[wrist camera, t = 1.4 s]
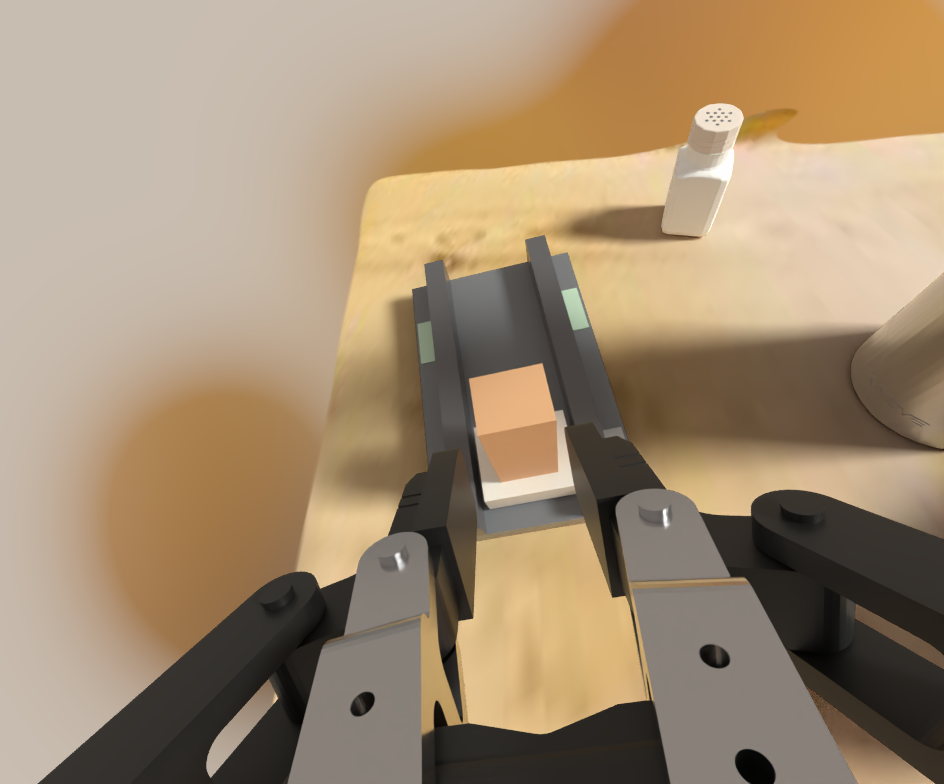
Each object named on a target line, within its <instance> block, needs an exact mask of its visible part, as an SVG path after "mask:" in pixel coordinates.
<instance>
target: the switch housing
mask: <svg viewBox="0 0 944 784" xmlns="http://www.w3.org/2000/svg"><path fill="white" fill-rule="evenodd" d="M525 242H526V252H527V262H525V263H521V264H517V265H512V266H508V267H504V268H500V269H496V270H491V271H487V272H483V273H479V274H475V275H470V276H466V277H462V278H458V279H454V280H450V279H449V276H448V273H447V270H446V268H445V265H444V262H443V260H440V261H436V262H432V263H427V264H424V265H425V274H426V283H427V286H424V287H420V288H416V289H412V293H413V304H414V314H415V325H416V336H417V347H418V358H419V369H420V380H421V391H422V402H423V413H424V424H425V435H426V446H427V457H428V468H429V464H430V461H431V457H432V454H433V453H434V452H439V451H444V450H449V449H454V448H460V449H461V451H462V454H463V457H464V461H465V465H466V469H467V473H468V477H469V480H470V484H471V488H472V492H473V496H474V500H475V505H476V511H477V540H476V541H482V540H487V539H493V538H499V537H505V536H511V535H516V534H522V533H528V532H534V531H540V530H546V529H551V528H557V527H563V526H569V525H575V524H580V523H586V522H585V520H584V517H583V514H582V511H581V508H580V506H579V503H578V499H577V496H576V494H573V495H567V496H561V497H556V498H550V499H545V500H539V501H534V502H528V503H522V504H517V505H511V506H506V507H500V508H494V509H490V508H489V507H488V506H487V504H486V503H485V501H484V495H483V488H482V481H481V474H480V468H479V461H478V454H477V447H476V441H475V434H474V428H475V427H476V422H475V415H474V409H473V402H472V395H471V389H470V382H469V379H470V378H475V377H480V376H485V375H489V374H494V373H499V372H503V371H508V370H513V369H517V368H522V367H527V366H532V365H536V364H541V363H542V364H543V368H544V372H545V376H546V380H547V384H548V388H549V392H550V396H551V400H552V404H553V408H554V412H555V411H560V410H563V413H564V417H565V421H566V424H567V427H568V426H573V425H578V424H583V423H588V422H593V424H594V425H595V427H596V429H597V430H598V432H599V434H600V435H601V437H602V438H607V437H613V436H619V437H621V438H623V439H625V440H627V441H628V438H627V435H626V432H625V429H624V425H623V422H622V419H621V416H620V413H619V410H618V407H617V404H616V401H615V398H614V395H613V391H612V388H611V385H610V382H609V379H608V376H607V373H606V370H605V367H604V364H603V361H602V358H601V354H600V351H599V348H598V345H597V342H596V339H595V336H594V333H593V330H592V327H591V324H590V320H589V317H588V314H587V311H586V308H585V305H584V302H583V299H582V296H581V293H580V290H579V287H578V283H577V280H576V277H575V274H574V271H573V268H572V265H571V262H570V259H569V256H568V253H563V254H559V255H555V256H551V255H550V252H549V248H548V245H547V242H546V238H545V235H543V236H539V237H534V238H530V239H526V240H525Z"/></svg>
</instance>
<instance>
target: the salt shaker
mask: <svg viewBox="0 0 944 784" xmlns="http://www.w3.org/2000/svg"><path fill="white" fill-rule="evenodd" d="M743 119H744V118H743V115H742V112H741V110H739V109H738V108H736V107H734V106H733V105H728V104H722V103H719V104H712V105H708V106H706V107H704V108H702V109H700V110H698V112H697V113H696V115H695V117H694V119H693V123H692V126H691V130H690V134H689V137H688V145H686V146H683V147H681V148H680V149H679V151H678V155H677V159H676V163H675V167H674V171H673V175H672V179H671V183H670V187H669V191H668V195H667V199H666V203H665V208H664V213H663V218H662V224H661V228H662V231H663V233H666V234H674V235H686V236H698V237H702V236H706V235H707V233H708V232H709V231H710V229H711V227H712V224H713V222H714V219H715V216H716V214H717V211H718V209H719V206H720V204H721V201H722V198H723V196H724V193H725V191H726V188H727V186H728V183H729V180H730V178H731V174H732V168H733V160H734V150H733V149H731V148H732V147H733V146H734V143H735V140H736V138H737V134H738V132H739V129H740V127H741V124H742V121H743Z"/></svg>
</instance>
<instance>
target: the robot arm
mask: <svg viewBox="0 0 944 784" xmlns="http://www.w3.org/2000/svg"><path fill="white" fill-rule="evenodd" d="M851 379H852V383H853V386H854V390H855V391H856V393H857V395H858V397H859V399H860V401H861V402H862V403H863V405H864V406H865V407H866V408H867V409H868V411H869V412H870V413H871V414H872V415H873V416H874V417H876V418H877V419H878V420H879V421H880V422H881V423H883V424H884V425H885V426H887V427H888V428H890V429H892V430H893V431H895V432H896V433H898V434H900V435H902V436H904V437H906V438H909V439H911V440H913V441H915V442H918V443H921V444H925V445H928V446H932V447H935V448H941V449H944V273H943V274H942V275H940V276H939V277H938V278H937V279H936V280H935V281H934V282H932V283H931V284H930V285H929V286H928V287H927V288H926V289H924V290H923V291H922V292H921V293H920V294H919V295H918V296H916V297H915V298H914V299H913V300H912V301H911V302H910V303H908V304H907V305H906V306H905V307H904V308H902V309H901V310H900V311H899V312H898V313H897V314H896V315H895V316H893V317H892V318H891V319H890V320H889V321H888V322H887V323H885V324H884V325H883V326H882V327H881V328H880V329H879V330H877V331H876V332H875V333H874V334H873V335H872V336H871V337H870V338H868V339H867V340H866V341H865V342H864V343H863V344H862V345H861V346H860V347H859V349H858V350H857V351H856V353H855V354H854V357H853V360H852V363H851ZM564 432H565V439H566V444H567V450H568V455H569V461H570V466H571V472H572V478H573V483H574V487H575V492H576V496H577V499H578V503H579V506H580V508H581V511H582V514H583V517H584V520H585V522H586V525H587V528H588V531H589V534H590V536H591V539H592V542H593V545H594V548H595V550H596V553H597V556H598V559H599V562H600V564H601V567H602V570H603V573H604V576H605V578H606V581H607V584H608V587H609V590H610V593H611V595H612V598H614V597H620V596H626V598H627V600H628V603H629V605H630V611H631V617H632V624H633V630H634V636H635V641H636V647H637V652H638V658H639V663H640V669H641V674H642V680H643V685H644V691H645V696H646V701H639V702H632V703H624V704H617V705H615V706H613V707H610V708H608V709H606V710H603V711H601V712H599V713H596V714H594V715H591V716H589V717H587V718H584V719H582V720H580V721H577V722H575V723H573V724H570V725H568V726H565V727H563V728H561V729H558V730H556V731H554V732H551V733H548V734H532V733H526V732H520V731H514V730H507V729H501V728H495V727H489V726H482V725H476V724H470V723H468V715H467V706H466V697H465V688H464V679H463V670H462V661H461V652H460V647H459V644H458V641H457V631H458V621H461V620H467V619H473V612H474V588H475V564H476V540H477V511H476V505H475V500H474V496H473V492H472V488H471V484H470V480H469V477H468V473H467V469H466V465H465V461H464V457H463V454H462V451H461V449H460V448H454V449H449V450H444V451H439V452H434V453H433V454H432V457H431V461H430V464H429V468H428V471H427V472H423V473H418V474H416V475H415V476H414V477H413V478H412V479H411V480H410V481H409V482H408V483H407V484H406V486H405V489H404V492H403V495H402V499H401V500H400V503H399V506H398V507H399V509H397V512H396V515H395V517H394V520H393V523H392V526H391V529H390V532H389V534H388V536H387V537H385V538H383V539H381V540H379V541H377V542H376V543H374V544H373V545H372V546H370V547H369V548H368V549H367V550H366V551H365V552H364V554H363V555H362V557H361V558H360V560H359V563H358V568H357V573H356V574H355V575H353V576H351V577H348V578H346V579H344V580H341V581H339V582H336V583H334V584H331V585H329V586H326V587H323V588H321V589H320V587H319V585H318V583H317V580H316V578H315V577H314V575H312V574H311V573H308V572H294V573H289V574H286V575H283V576H281V577H278V578H276V579H274V580H273V581H271V582H269V583H267V584H266V585H264V586H263V587H261V588H260V589H259V590H258V591H256V592H255V593H254V594H253V595H252V596H251V597H249V598H248V599H247V600H246V601H245V602H244V603H243V604H241V605H240V606H239V607H238V608H237V609H236V610H235V611H234V612H232V613H231V614H230V615H229V616H228V617H227V618H226V619H224V620H223V621H222V622H221V623H220V624H219V625H218V626H217V627H215V628H214V629H213V630H212V631H211V632H210V633H209V634H207V635H206V636H205V637H204V638H203V639H202V640H201V641H199V643H197V644H196V645H195V646H194V647H193V648H191V649H190V650H189V651H188V652H187V653H186V654H185V655H183V656H182V657H181V658H180V659H179V660H178V661H177V662H176V663H174V664H173V665H172V666H171V667H170V668H169V669H168V670H166V671H165V672H164V673H163V674H162V675H161V676H160V677H158V678H157V679H156V680H155V681H154V682H153V683H152V684H151V685H149V686H148V687H147V688H146V689H145V690H144V691H143V692H141V694H139V695H138V696H137V697H136V698H135V699H133V700H132V701H131V702H130V703H129V704H128V705H127V706H126V707H124V708H123V709H122V710H121V711H120V712H119V713H118V714H117V715H115V716H114V717H113V718H112V719H111V720H110V721H109V722H107V723H106V724H105V725H104V726H103V727H102V728H101V729H99V730H98V731H97V732H96V733H95V734H94V735H93V736H91V737H90V738H89V739H88V740H87V741H86V742H85V743H83V744H82V745H81V746H80V747H79V748H78V749H77V750H76V751H74V753H72V754H71V755H70V756H69V757H68V758H66V759H65V760H64V761H63V762H62V763H61V764H60V765H58V766H57V767H56V768H55V769H54V770H53V771H52V772H50V774H48V775H47V776H46V777H45V778H44V779H43V780H42V781H40V782H39V783H38V784H858V783H857V782H856V780H855V778H854V776H853V774H852V772H851V770H850V769H849V767H848V765H847V763H846V761H845V759H844V757H843V755H842V754H841V752H840V750H839V748H838V746H837V744H836V742H835V741H834V739H833V737H832V735H831V733H830V731H829V729H828V728H827V726H826V724H825V722H824V720H823V718H822V716H821V714H820V713H819V711H818V709H817V707H816V705H815V703H814V701H813V700H812V698H811V696H810V694H809V692H808V690H807V688H806V687H805V685H806V686H807V687H809V688H810V689H811V690H812V691H814V692H815V693H816V694H818V695H819V696H820V697H822V698H823V699H824V700H826V701H827V702H828V703H830V704H831V705H832V706H834V707H835V708H836V709H838V710H839V711H840V712H841V713H843V714H844V715H845V716H847V717H848V718H849V719H851V720H852V721H853V722H855V723H856V724H857V725H859V726H860V727H861V728H863V729H864V730H865V731H867V732H868V733H869V734H871V735H872V736H873V737H874V738H876V739H877V740H878V741H880V742H881V743H882V744H884V745H885V746H886V747H888V748H889V749H890V750H892V751H893V752H894V753H896V754H897V755H898V756H900V757H901V758H902V759H903V760H905V761H906V762H907V763H909V764H910V765H911V766H913V767H914V768H915V769H917V770H918V771H919V772H921V773H922V774H923V775H925V776H926V777H927V778H929V779H930V780H931V781H932V782H934V783H935V784H944V670H943V669H942V668H940V667H938V666H936V665H935V664H933V663H931V662H929V661H928V660H926V659H924V658H923V657H921V656H919V655H917V654H916V653H914V652H912V651H910V650H909V649H907V648H905V647H903V646H902V645H900V644H898V643H896V642H895V641H893V640H891V639H889V638H888V637H886V636H884V635H882V634H881V633H879V632H877V631H875V630H874V629H872V628H870V627H868V626H867V625H865V624H863V623H861V622H860V621H858V620H856V619H855V603H856V604H858V605H860V606H862V607H864V608H865V609H867V610H869V611H871V612H873V613H875V614H876V615H878V616H880V617H882V618H884V619H886V620H887V621H889V622H891V623H893V624H895V625H897V626H898V627H900V628H902V629H904V630H906V631H908V632H909V633H911V634H913V635H915V636H917V637H919V638H920V639H922V640H924V641H926V642H927V643H929V644H930V645H932V646H933V647H935V648H936V649H937V650H938V651H940V652H941V653H942V654H943V655H944V539H941V538H938V537H936V536H933V535H930V534H928V533H925V532H922V531H919V530H917V529H914V528H911V527H909V526H906V525H903V524H901V523H898V522H895V521H893V520H890V519H887V518H885V517H882V516H879V515H877V514H874V513H871V512H869V511H866V510H863V509H860V508H858V507H855V506H852V505H850V504H847V503H844V502H842V501H839V500H836V499H834V498H831V497H828V496H825V495H822V494H818V493H814V492H808V491H801V490H779V491H773V492H769V493H765V494H763V495H761V496H759V497H758V498H756V499H755V500H754V501H753V503H752V505H751V516H725V515H712V514H706V513H701V512H699V511H698V509H697V507H696V505H695V504H694V502H693V501H691V500H690V499H689V498H688V497H686V496H684V495H682V494H680V493H678V492H675V491H671V490H666V488H665V487H664V485H663V484H662V483H661V481H660V480H659V479H658V477H657V476H656V475H655V473H654V472H653V471H652V469H651V468H650V467H649V465H648V464H646V461H645V460H644V459H643V457H642V456H641V455H640V454H639V452H638V451H637V449H636V448H635V446H634V445H633V444H632V443H631V442H629V441H627V440H625V439H623V438H621V437H619V436H613V437H607V438H602V437H601V435H600V434H599V432H598V430H597V429H596V427H595V425H594V424H593V422H588V423H583V424H578V425H573V426H568V427H564ZM268 679H269V680H270V682H271V684H272V686H273V688H274V690H275V692H276V695H277V697H278V700H277V701H276V702H275V703H274V704H273V705H272V707H271V708H270V709H269V710H268V711H267V713H266V714H265V715H264V716H263V717H262V718H261V720H260V721H259V722H258V723H257V725H256V726H255V727H254V728H253V729H252V730H251V731H250V733H249V734H248V735H247V736H246V737H245V738H244V740H243V741H242V742H241V743H240V744H239V746H238V747H237V748H236V749H235V750H234V751H233V753H232V754H231V755H230V756H229V757H228V759H227V760H226V761H225V762H224V763H223V764H222V766H221V767H220V768H219V769H218V770H217V771H216V773H215V774H214V775H213V776H212V777H211V778H210V777H209V775H208V773H207V769H206V761H207V756H208V753H209V750H210V748H211V746H212V744H213V742H214V740H215V739H216V737H217V736H218V734H219V733H220V732H221V731H222V729H223V728H224V727H225V726H226V725H227V724H228V723H229V722H230V721H231V720H232V719H233V717H234V716H235V715H236V714H237V713H238V712H239V711H240V710H241V709H242V707H243V706H244V705H245V704H246V703H247V702H248V701H249V700H250V699H251V697H252V696H253V695H254V694H255V693H256V692H257V691H258V690H259V689H260V687H261V686H262V685H263V684H264V683H265V682H266V681H267V680H268ZM804 684H805V685H804Z"/></svg>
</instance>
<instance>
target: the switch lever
mask: <svg viewBox="0 0 944 784" xmlns="http://www.w3.org/2000/svg"><path fill="white" fill-rule="evenodd" d="M469 382H470V389H471V395H472V402H473V409H474V415H475V422H476V427H475V428H474V434H475V441H476V447H477V454H478V461H479V468H480V474H481V481H482V488H483V495H484V501H485V503H486V504H487V506H488V507H489V508H490V509H494V508H500V507H506V506H511V505H517V504H522V503H528V502H534V501H539V500H545V499H550V498H556V497H561V496H567V495H573V494H576V492H575V487H574V483H573V478H572V472H571V466H570V461H569V455H568V450H567V444H566V439H565V432H564V427H567V424H566V421H565V417H564V413H563V410H560V411H555V412H554V408H553V404H552V400H551V396H550V392H549V388H548V384H547V380H546V376H545V372H544V368H543V364H542V363H541V364H536V365H532V366H527V367H522V368H517V369H513V370H508V371H503V372H499V373H494V374H489V375H485V376H480V377H475V378H470V379H469Z"/></svg>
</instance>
